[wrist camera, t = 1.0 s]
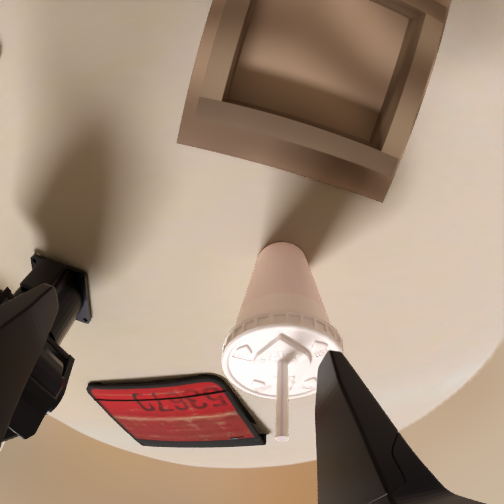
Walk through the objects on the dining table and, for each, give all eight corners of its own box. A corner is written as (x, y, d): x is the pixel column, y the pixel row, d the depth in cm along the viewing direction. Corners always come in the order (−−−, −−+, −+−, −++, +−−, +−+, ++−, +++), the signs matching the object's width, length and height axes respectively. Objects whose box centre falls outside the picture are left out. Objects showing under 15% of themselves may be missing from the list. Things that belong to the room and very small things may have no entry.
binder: (266, 446, 37) (142, 447, 42) (267, 432, 39) (145, 436, 44) (216, 379, 30) (78, 388, 35) (220, 362, 32) (85, 375, 37)
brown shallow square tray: (380, 199, 20) (394, 218, 18) (179, 141, 19) (164, 152, 17) (447, -2, 12) (470, -9, 10) (242, -75, 11) (237, -95, 8)
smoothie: (324, 221, 22) (369, 400, 10) (324, 294, 25) (347, 461, 13) (232, 228, 22) (189, 407, 10) (244, 299, 26) (223, 465, 14)
